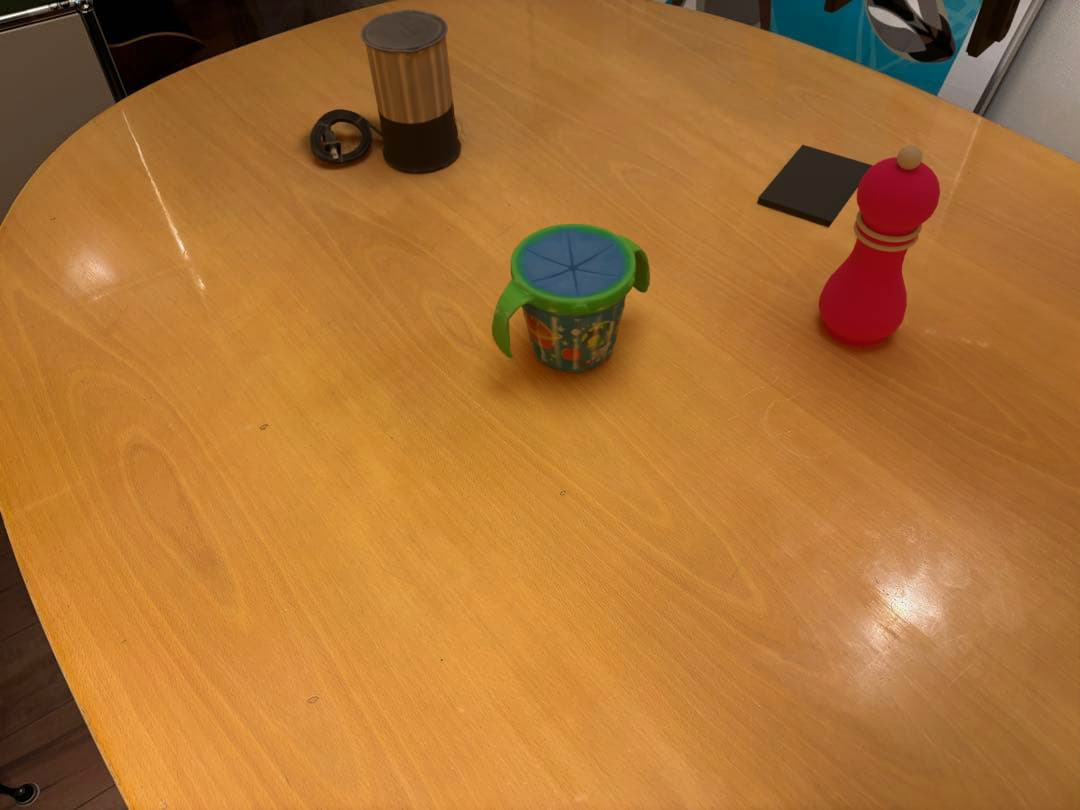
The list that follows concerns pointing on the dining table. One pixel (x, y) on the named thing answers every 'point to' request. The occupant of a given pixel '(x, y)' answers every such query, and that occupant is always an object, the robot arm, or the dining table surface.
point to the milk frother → (402, 96)
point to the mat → (814, 185)
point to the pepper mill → (880, 250)
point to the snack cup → (570, 293)
